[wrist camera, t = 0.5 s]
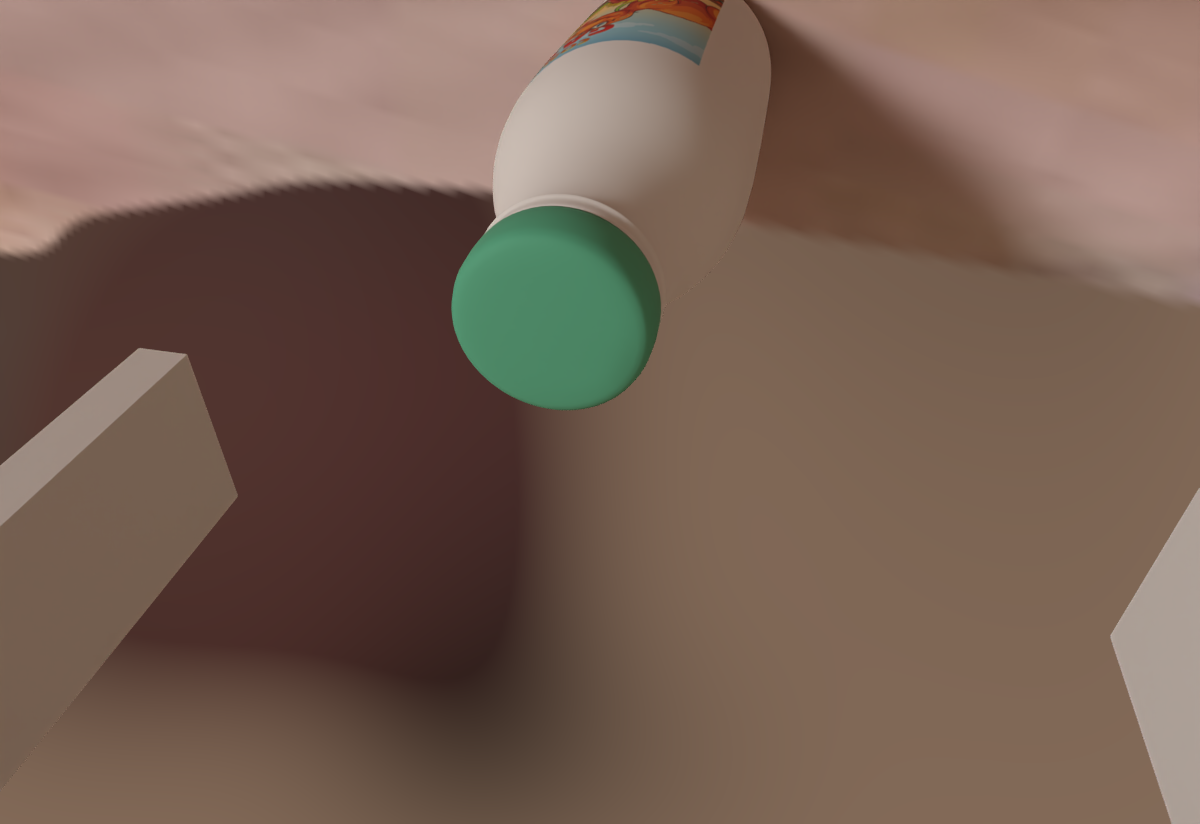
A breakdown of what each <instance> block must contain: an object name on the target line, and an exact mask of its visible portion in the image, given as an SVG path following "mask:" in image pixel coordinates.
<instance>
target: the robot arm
mask: <svg viewBox="0 0 1200 824" xmlns="http://www.w3.org/2000/svg"><path fill="white" fill-rule="evenodd" d="M237 496H238V495H237V492H236V489H235V486H234V484H233V481H232V478H231V475H230V473H229V470H228V467H227V464H226V461H225V459H224V456H223V453H222V451H221V448H220V445H219V442H218V439H217V437H216V434H215V431H214V428H213V425H212V423H211V420H210V417H209V414H208V412H207V409H206V406H205V403H204V400H203V398H202V395H201V392H200V389H199V387H198V384H197V381H196V378H195V376H194V373H193V370H192V367H191V364H190V361H189V359H188V356H187V354H180V353H172V352H164V351H157V350H149V349H142V348H139V349H137V350H136V351H135V352H134V353H133V354H132V355H130V356H129V357H128V358H127V359H126V360H125V361H123V362H122V363H121V364H120V365H119V366H118V367H116V368H115V369H114V370H113V371H112V372H110V373H109V374H108V375H107V376H106V377H104V378H103V379H102V380H101V381H100V382H98V384H96V385H95V386H94V387H93V388H91V389H90V390H89V391H88V392H87V393H85V394H84V395H83V396H82V397H81V398H80V399H78V400H77V401H76V402H75V403H74V404H73V405H71V406H70V407H69V408H68V409H67V410H65V411H64V412H63V413H62V414H61V415H60V416H58V417H57V418H56V419H55V420H54V421H52V422H51V423H50V424H49V425H48V426H47V427H45V428H44V429H43V430H42V431H41V432H39V433H38V434H37V435H36V436H35V437H34V438H32V439H31V440H30V441H29V442H28V443H27V444H25V445H24V446H23V447H22V448H21V449H20V450H18V451H17V452H16V453H15V454H13V455H12V456H11V457H10V458H9V459H8V460H6V461H5V462H4V463H3V464H2V465H0V791H1V790H2V788H3V787H4V786H5V784H6V783H7V782H8V781H9V780H10V778H11V777H12V776H13V775H14V773H15V772H16V771H17V770H18V768H19V767H20V766H21V765H22V763H23V762H24V761H25V760H26V759H27V757H28V756H29V755H30V754H31V752H32V751H33V750H34V749H35V747H36V746H37V745H38V744H39V742H40V741H41V740H42V739H43V737H44V736H45V735H46V734H47V733H48V731H49V730H50V729H51V728H52V726H53V725H54V724H55V723H56V721H57V720H58V719H59V717H60V716H61V715H62V714H63V712H64V711H65V710H66V709H67V708H68V706H69V705H70V704H71V703H72V702H73V700H74V699H75V698H76V697H77V695H78V694H79V693H80V692H81V690H82V689H83V688H84V687H85V685H86V684H87V683H88V682H89V680H90V679H91V678H92V677H93V675H94V674H95V673H96V672H97V670H98V669H99V668H100V667H101V665H102V664H103V663H104V662H105V661H106V659H107V658H108V657H109V656H110V654H111V653H112V652H113V651H114V649H115V648H116V647H117V646H118V644H119V643H120V642H121V641H122V639H123V638H124V637H125V636H126V634H127V633H128V632H129V631H130V629H131V628H132V627H133V626H134V625H135V623H136V622H137V621H138V620H139V618H140V617H141V616H142V615H143V613H144V612H145V611H146V610H147V608H148V607H149V606H150V605H151V603H152V602H153V601H154V600H155V598H156V597H157V596H158V595H159V593H160V592H161V591H162V590H163V589H164V587H165V586H166V585H167V583H168V582H169V581H170V580H171V579H172V577H173V576H174V575H175V574H176V572H177V571H178V570H179V569H180V567H181V566H182V565H183V564H184V562H185V561H186V560H187V559H188V557H189V556H190V555H191V553H192V552H193V551H194V550H195V549H196V548H197V546H198V545H199V543H200V542H201V541H202V540H203V539H204V538H205V536H206V535H207V534H208V533H209V531H210V530H211V528H213V526H214V525H215V524H216V523H217V521H218V520H219V519H220V518H221V516H222V515H223V514H224V513H225V512H226V510H227V509H228V508H229V506H230V505H231V504H232V503H233V502H234V500H235V499H236V498H237ZM1110 637H1111V641H1112V644H1113V647H1114V650H1115V653H1116V656H1117V659H1118V662H1119V665H1120V668H1121V671H1122V674H1123V677H1124V680H1125V683H1126V686H1127V689H1128V692H1129V696H1130V698H1131V701H1132V704H1133V708H1134V710H1135V714H1136V717H1137V720H1138V723H1139V726H1140V729H1141V732H1142V735H1143V738H1144V741H1145V744H1146V747H1147V750H1148V753H1149V756H1150V759H1151V762H1152V766H1153V768H1154V772H1155V775H1156V778H1157V781H1158V784H1159V787H1160V790H1161V793H1162V795H1163V799H1164V802H1165V805H1166V808H1167V811H1168V814H1169V817H1170V820H1171V823H1172V824H1200V488H1199V489H1198V491H1197V492H1196V494H1195V496H1194V497H1193V499H1192V501H1191V502H1190V504H1189V506H1188V507H1187V509H1186V511H1185V513H1184V514H1183V516H1182V517H1181V519H1180V521H1179V522H1178V524H1177V526H1176V527H1175V529H1174V531H1173V532H1172V534H1171V536H1170V537H1169V539H1168V541H1167V542H1166V544H1165V546H1164V547H1163V549H1162V551H1161V553H1160V554H1159V556H1158V557H1157V559H1156V561H1155V562H1154V564H1153V566H1152V567H1151V569H1150V571H1149V572H1148V574H1147V576H1146V577H1145V579H1144V581H1143V582H1142V584H1141V586H1140V587H1139V589H1138V591H1137V592H1136V594H1135V596H1134V597H1133V599H1132V601H1131V602H1130V604H1129V606H1128V607H1127V609H1126V611H1125V612H1124V614H1123V616H1122V617H1121V619H1120V621H1119V623H1118V624H1117V626H1116V627H1115V629H1114V631H1113V632H1112V634H1111V636H1110Z"/></svg>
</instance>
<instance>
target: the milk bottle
mask: <svg viewBox="0 0 1200 824" xmlns="http://www.w3.org/2000/svg"><path fill="white" fill-rule="evenodd" d="M770 86H771V59H770V52H769V48H768V43H767V40H766V37H765V34H764V32H763V29H762V27H761V25H760V23H759V21H758V19H757V18H756V16H755V14H754V13H753V12H752V10H751V9H750V7H749V6H748V5H747V4H746V3H745V2H744V0H605V1H604V2H603V3H602V4H601V5H600V6H599V7H598V8H597V9H596V10H595V11H594V12H593V13H592V14H591V15H590V16H589V17H588V18H587V20H586V21H585V22H584V23H583V24H582V25H581V26H580V27H579V28H578V29H577V30H576V31H575V32H574V33H573V34H572V35H571V36H570V37H569V38H568V39H567V41H566V42H565V43H564V44H563V45H562V46H561V47H560V48H559V49H558V50H557V52H556V53H555V54H554V55H553V56H552V57H551V58H550V59H549V60H548V62H547V63H546V64H545V65H544V66H543V67H542V68H541V70H540V71H539V72H538V73H537V75H536V76H535V77H534V78H533V80H532V81H531V82H530V84H529V85H528V86H527V88H526V89H525V90H524V92H523V93H522V94H521V96H520V97H519V99H518V100H517V102H516V104H515V106H514V108H513V110H512V111H511V113H510V116H509V118H508V120H507V122H506V124H505V126H504V129H503V132H502V134H501V137H500V141H499V144H498V148H497V153H496V157H495V163H494V171H493V201H494V208H495V214H496V219H495V220H494V221H493V222H492V223H491V225H490V226H489V228H488V229H487V231H486V232H485V234H484V235H483V236H482V238H481V239H480V240H479V241H478V242H477V243H476V245H475V246H474V247H473V249H472V250H471V251H470V253H469V255H468V257H467V258H466V260H465V261H464V263H463V265H462V267H461V268H460V270H459V273H458V275H457V278H456V281H455V285H454V290H453V297H452V319H453V324H454V328H455V332H456V335H457V337H458V340H459V343H460V345H461V347H462V349H463V351H464V352H465V354H466V355H467V357H468V359H469V360H470V361H471V363H472V364H473V365H474V366H475V368H476V369H477V370H478V371H479V372H480V373H481V374H482V375H483V376H484V377H485V378H486V379H487V380H489V381H490V382H491V383H492V384H493V385H495V386H496V387H497V388H499V389H500V390H502V391H503V392H505V393H507V394H509V395H510V396H512V397H514V398H516V399H519V400H521V401H523V402H526V403H529V404H531V405H534V406H539V407H543V408H548V409H555V410H577V409H585V408H590V407H594V406H597V405H600V404H602V403H605V402H607V401H609V400H611V399H613V398H615V397H616V396H618V395H619V394H621V393H622V392H623V391H625V390H626V389H627V388H628V387H629V386H630V385H631V384H632V383H633V382H634V381H635V380H636V378H637V377H638V376H639V375H640V374H641V372H642V370H643V369H644V367H645V365H646V363H647V361H648V359H649V357H650V354H651V352H652V349H653V347H654V344H655V341H656V337H657V332H658V328H659V324H660V322H661V319H662V316H663V313H664V308H665V305H666V304H668V303H670V302H672V301H674V300H676V299H677V298H679V297H681V296H682V295H684V294H685V293H687V292H688V291H689V290H691V289H692V288H693V287H694V286H696V285H697V284H698V283H699V282H701V281H702V280H703V279H704V278H705V277H706V276H707V275H708V274H709V273H710V272H711V270H712V269H713V268H714V267H715V266H716V264H717V263H718V262H719V261H720V260H721V258H722V257H723V255H724V254H725V253H726V251H727V250H728V248H729V246H730V244H731V242H732V240H733V238H734V237H735V235H736V233H737V231H738V229H739V227H740V225H741V222H742V220H743V217H744V215H745V211H746V208H747V204H748V200H749V197H750V193H751V190H752V186H753V182H754V178H755V173H756V168H757V163H758V158H759V153H760V148H761V142H762V136H763V131H764V125H765V119H766V113H767V107H768V101H769V95H770Z"/></svg>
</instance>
